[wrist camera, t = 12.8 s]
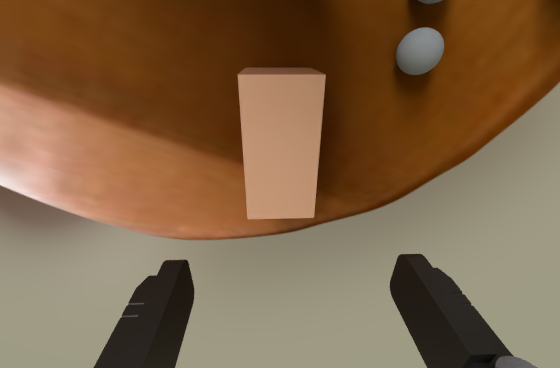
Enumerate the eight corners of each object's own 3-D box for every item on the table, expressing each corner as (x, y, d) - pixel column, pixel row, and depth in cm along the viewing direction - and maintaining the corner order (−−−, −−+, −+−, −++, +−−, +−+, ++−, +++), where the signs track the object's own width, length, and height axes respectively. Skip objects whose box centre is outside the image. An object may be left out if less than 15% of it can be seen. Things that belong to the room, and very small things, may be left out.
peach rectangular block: (245, 67, 23) (237, 74, 17) (310, 67, 24) (325, 74, 17) (251, 182, 29) (247, 219, 23) (304, 182, 29) (313, 217, 23)
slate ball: (393, 28, 22) (414, 25, 19) (433, 29, 23) (460, 26, 19) (385, 73, 24) (403, 77, 21) (422, 73, 24) (445, 77, 21)
